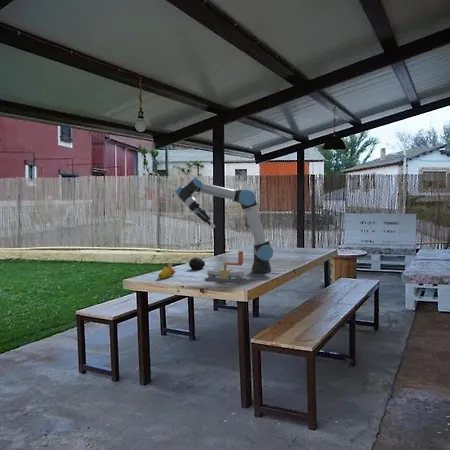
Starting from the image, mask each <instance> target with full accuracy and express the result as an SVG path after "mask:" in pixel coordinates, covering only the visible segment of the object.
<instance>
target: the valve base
mask: <svg viewBox="0 0 450 450" xmlns="http://www.w3.org/2000/svg"><path fill="white" fill-rule="evenodd" d="M227 266H228V265H223V268H221V269H219V270H213V269H211V270H210V269H209V270H207V272H206V274H207V276H208V277H204V281H205V282H218V283H219V282H220V283H233V284H235V283H237V284H241V283H243V282H245V281H247V277H245V273H244V271H236V270H235V271H232V269H231V268H228V267H227Z"/></svg>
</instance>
